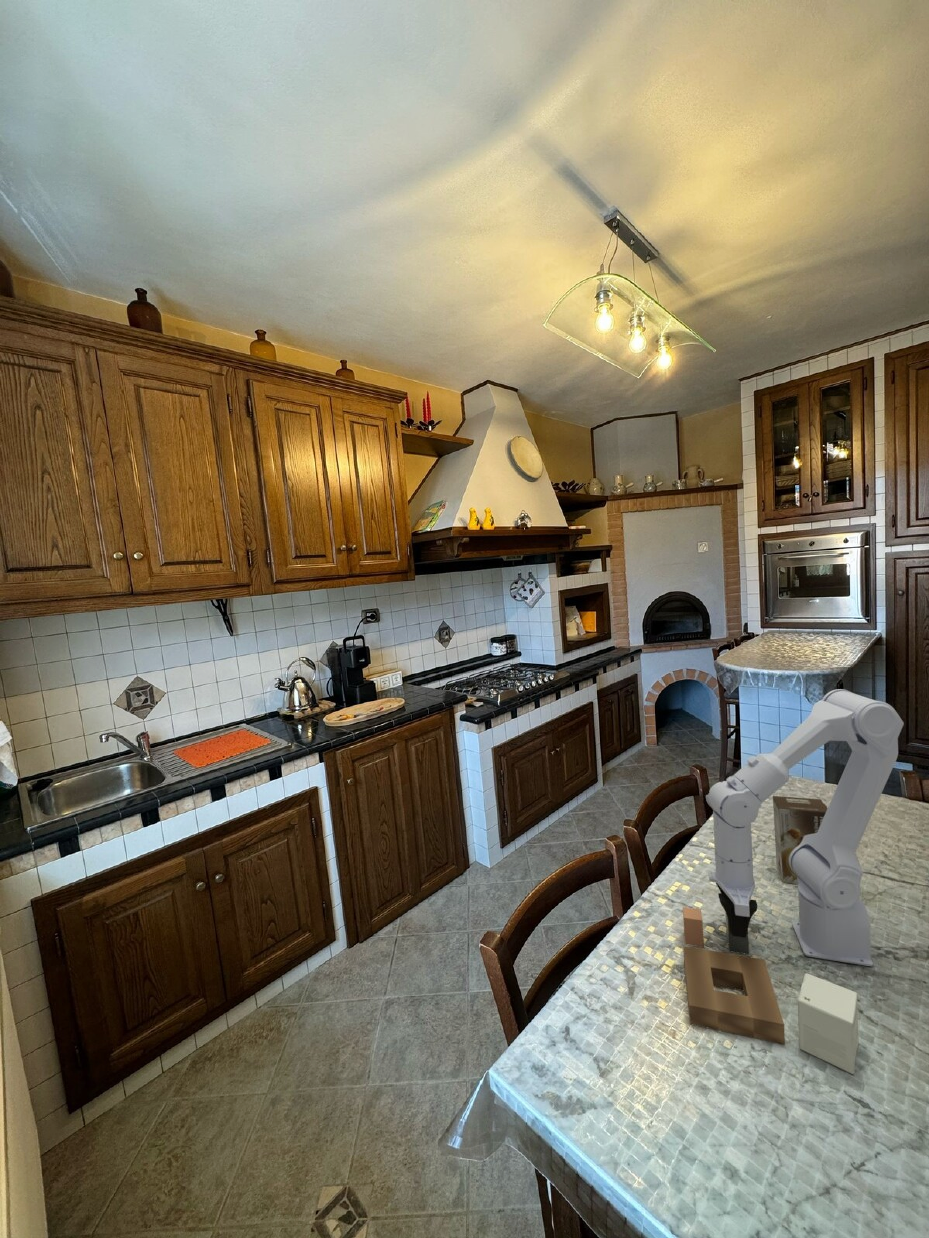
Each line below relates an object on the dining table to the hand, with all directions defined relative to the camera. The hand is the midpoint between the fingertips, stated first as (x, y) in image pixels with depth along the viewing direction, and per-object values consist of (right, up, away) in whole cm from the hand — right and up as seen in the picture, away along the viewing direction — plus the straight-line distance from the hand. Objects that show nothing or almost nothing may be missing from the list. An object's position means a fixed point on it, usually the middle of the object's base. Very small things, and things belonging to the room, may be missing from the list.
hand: (736, 927), depth 86 cm
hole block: (-7, -5, -10) cm, 13 cm away
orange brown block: (-6, -4, +3) cm, 8 cm away
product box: (+3, -5, -18) cm, 19 cm away
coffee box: (+24, 0, +17) cm, 29 cm away
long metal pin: (0, -3, 0) cm, 3 cm away
